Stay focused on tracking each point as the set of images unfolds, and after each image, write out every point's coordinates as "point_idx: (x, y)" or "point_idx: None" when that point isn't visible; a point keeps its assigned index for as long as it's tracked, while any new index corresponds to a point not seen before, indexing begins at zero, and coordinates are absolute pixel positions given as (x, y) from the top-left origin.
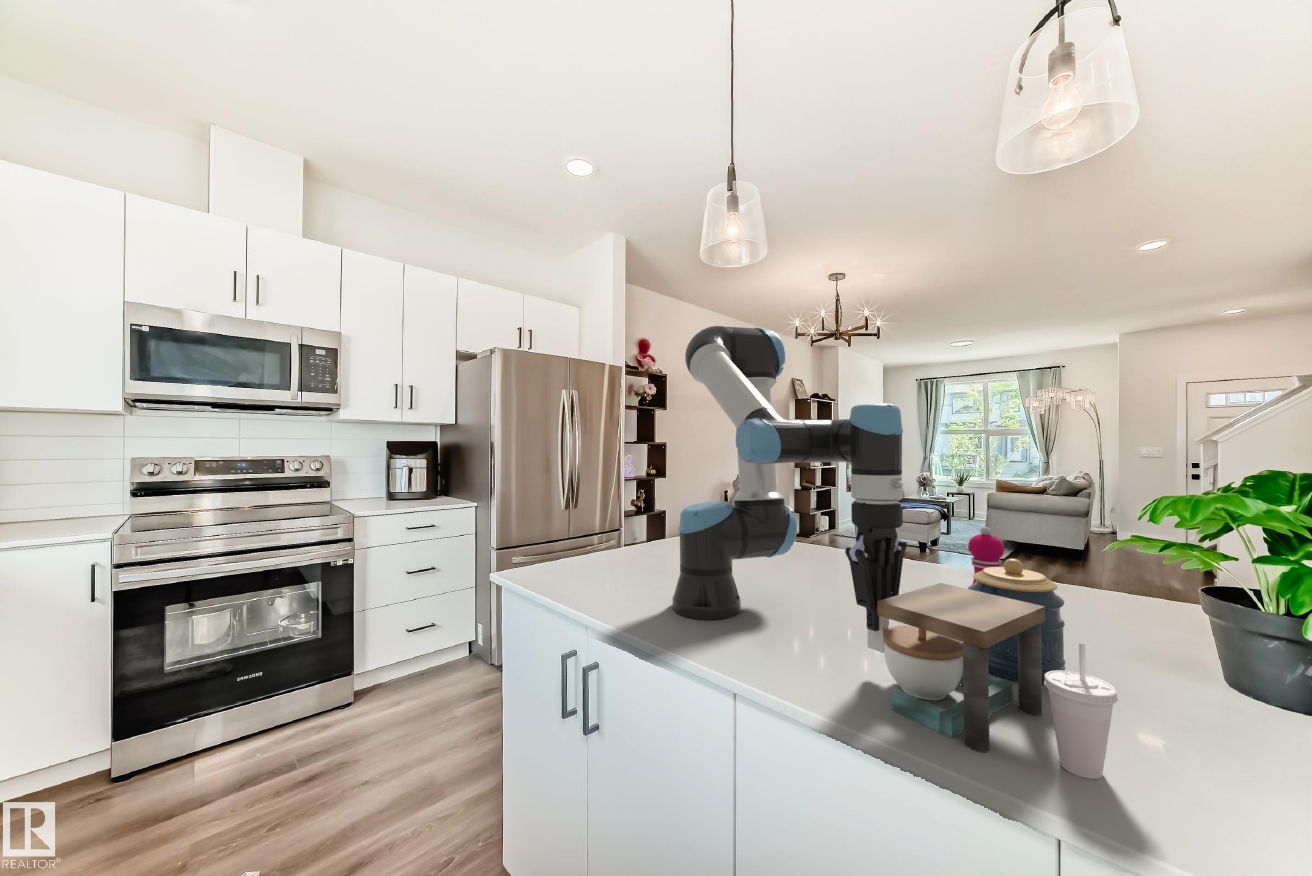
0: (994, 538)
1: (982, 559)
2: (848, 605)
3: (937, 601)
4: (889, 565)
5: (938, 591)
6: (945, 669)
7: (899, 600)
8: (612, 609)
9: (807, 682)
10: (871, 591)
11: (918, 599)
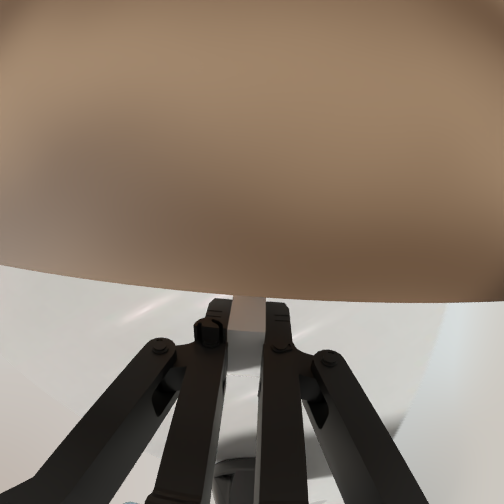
0: None
1: None
2: (68, 393)
3: (347, 43)
4: (175, 498)
5: (74, 174)
6: None
7: (491, 242)
8: (337, 487)
9: (384, 307)
10: (344, 406)
11: (413, 165)
